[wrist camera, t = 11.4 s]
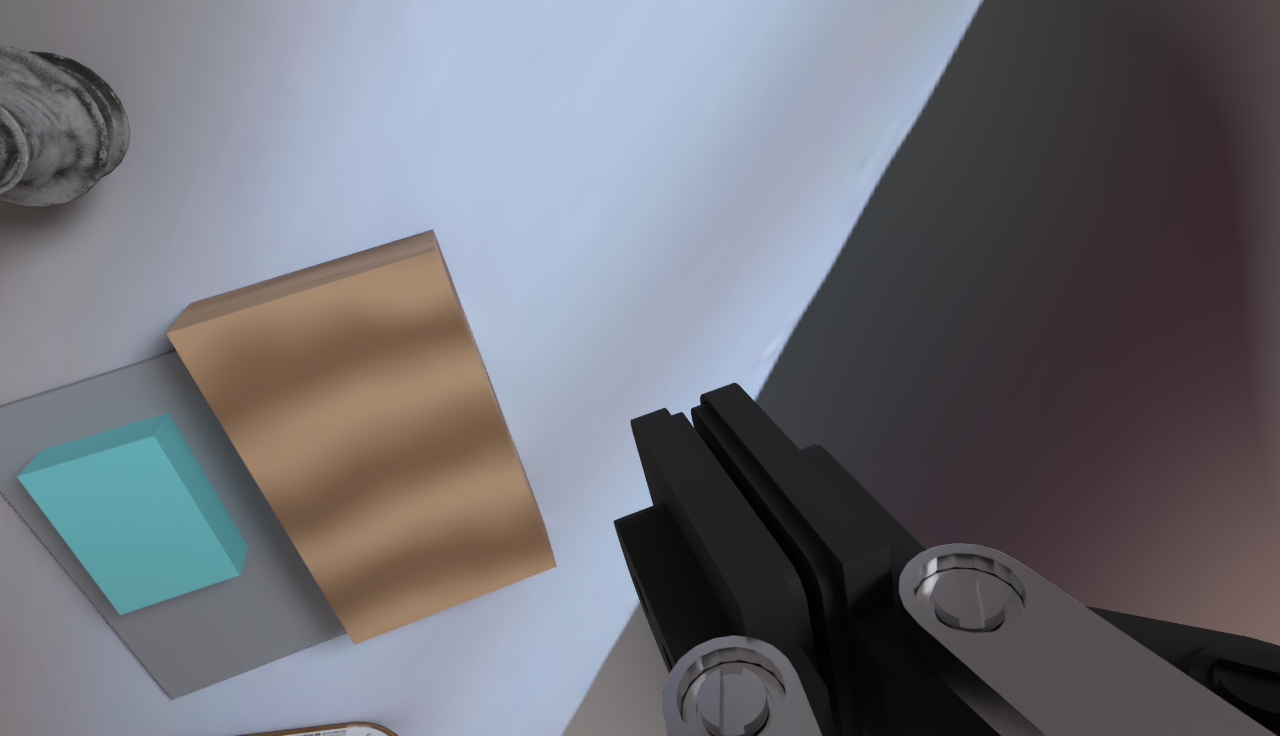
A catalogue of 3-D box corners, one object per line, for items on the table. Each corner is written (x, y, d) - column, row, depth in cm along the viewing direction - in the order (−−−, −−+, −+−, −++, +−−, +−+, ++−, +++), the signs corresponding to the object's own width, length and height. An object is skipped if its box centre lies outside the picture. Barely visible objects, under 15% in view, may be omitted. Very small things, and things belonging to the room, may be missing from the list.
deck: (190, 303, 35) (166, 333, 31) (432, 229, 37) (435, 250, 33) (358, 596, 44) (354, 644, 41) (545, 526, 46) (556, 566, 43)
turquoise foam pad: (154, 435, 34) (168, 412, 36) (16, 476, 33) (40, 450, 35) (239, 575, 38) (248, 547, 40) (120, 615, 37) (135, 584, 40)
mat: (-50, 421, 34) (-54, 425, 34) (190, 346, 36) (188, 349, 35) (174, 694, 43) (172, 699, 43) (355, 625, 45) (355, 629, 45)
